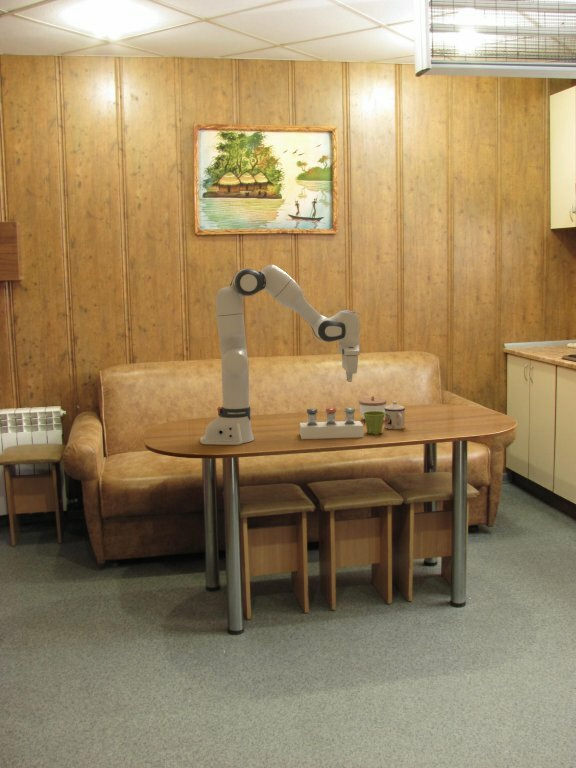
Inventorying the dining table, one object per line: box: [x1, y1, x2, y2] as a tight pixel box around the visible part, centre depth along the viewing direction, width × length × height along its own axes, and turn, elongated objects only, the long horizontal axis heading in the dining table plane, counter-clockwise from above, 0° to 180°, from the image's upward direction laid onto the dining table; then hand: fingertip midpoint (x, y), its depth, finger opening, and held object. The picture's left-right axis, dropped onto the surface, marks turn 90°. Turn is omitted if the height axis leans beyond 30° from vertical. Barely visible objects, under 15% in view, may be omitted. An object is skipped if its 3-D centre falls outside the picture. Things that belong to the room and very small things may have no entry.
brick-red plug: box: [325, 407, 337, 424], centre depth 341 cm, size 4×4×6 cm
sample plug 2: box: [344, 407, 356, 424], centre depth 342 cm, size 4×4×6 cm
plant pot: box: [363, 411, 385, 435], centre depth 346 cm, size 9×9×9 cm
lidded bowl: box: [358, 395, 387, 420], centre depth 374 cm, size 13×13×11 cm
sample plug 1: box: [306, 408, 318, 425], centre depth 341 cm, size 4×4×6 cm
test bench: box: [299, 420, 364, 440], centre depth 342 cm, size 26×10×5 cm, turn 93°
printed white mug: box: [384, 401, 406, 430], centre depth 354 cm, size 12×9×12 cm
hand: (349, 381), depth 339 cm, fingers closed
